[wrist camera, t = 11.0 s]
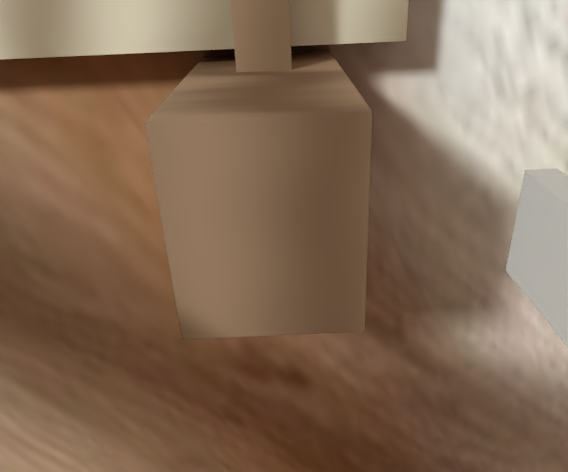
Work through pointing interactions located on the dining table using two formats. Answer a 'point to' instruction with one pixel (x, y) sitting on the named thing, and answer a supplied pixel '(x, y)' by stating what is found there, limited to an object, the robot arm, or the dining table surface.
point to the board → (180, 25)
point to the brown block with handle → (264, 186)
